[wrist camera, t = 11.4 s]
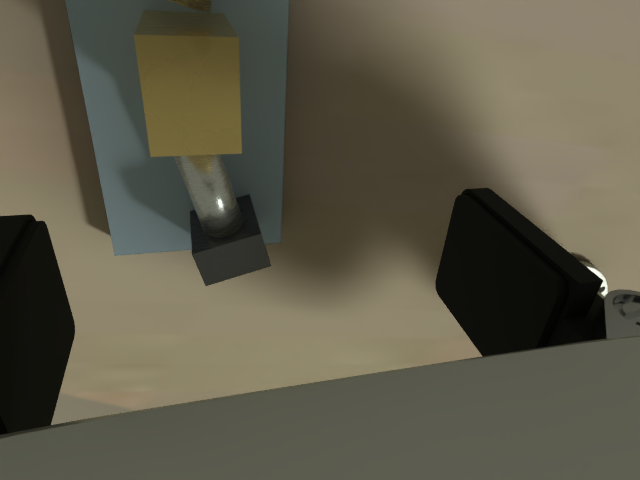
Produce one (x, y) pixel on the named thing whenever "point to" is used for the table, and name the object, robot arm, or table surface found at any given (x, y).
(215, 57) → the olive yellow block
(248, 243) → the shaft
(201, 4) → the shaft
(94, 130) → the board
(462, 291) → the robot arm
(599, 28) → the table surface
